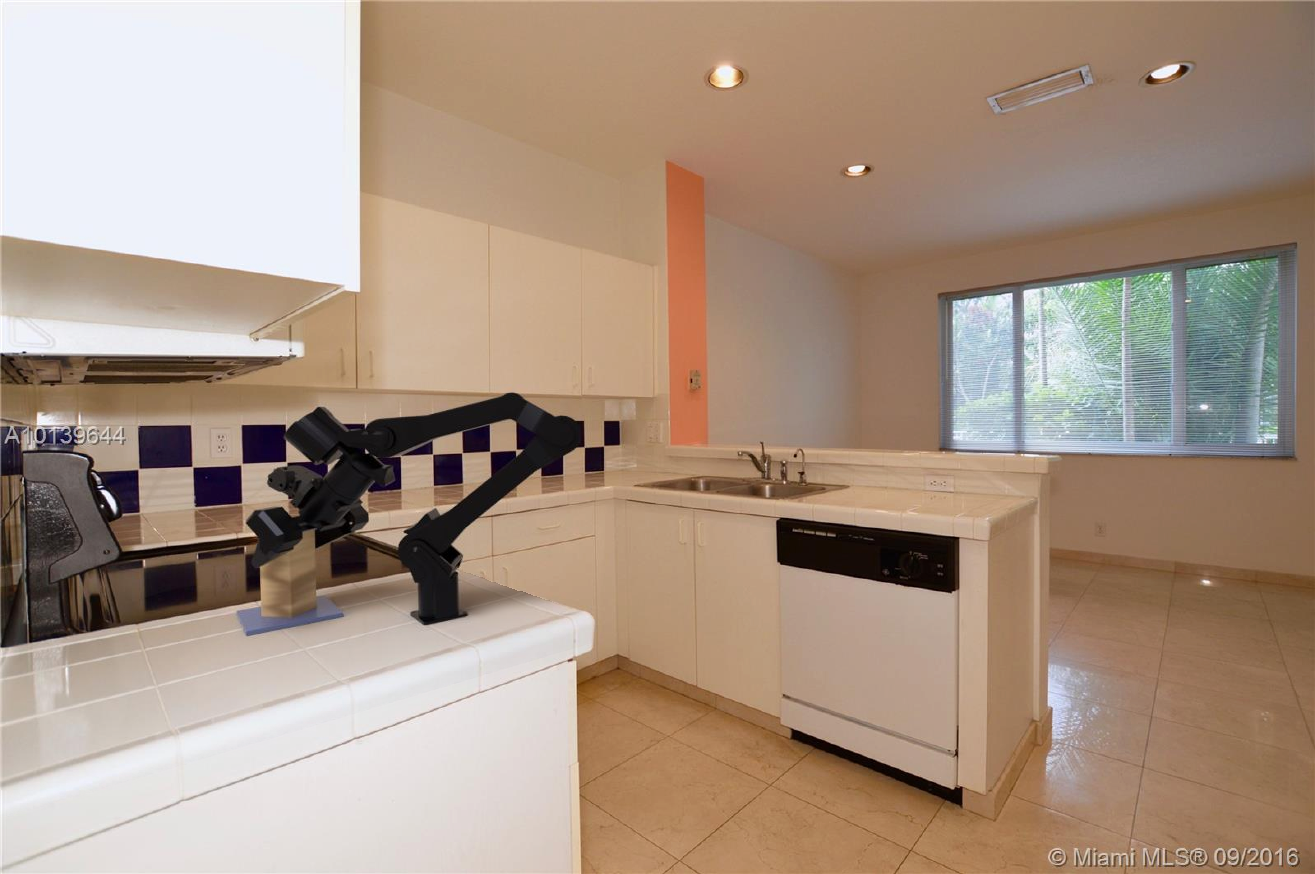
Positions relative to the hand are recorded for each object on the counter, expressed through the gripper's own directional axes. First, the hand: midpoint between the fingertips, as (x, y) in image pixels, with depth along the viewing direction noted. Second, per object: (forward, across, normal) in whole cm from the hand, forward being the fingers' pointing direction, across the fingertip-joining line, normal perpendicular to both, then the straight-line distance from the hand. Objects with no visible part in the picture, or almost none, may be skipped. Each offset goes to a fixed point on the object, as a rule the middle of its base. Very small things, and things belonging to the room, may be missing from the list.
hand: (279, 558), depth 90 cm
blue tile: (+5, 0, +7) cm, 9 cm away
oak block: (+5, 0, +7) cm, 8 cm away
